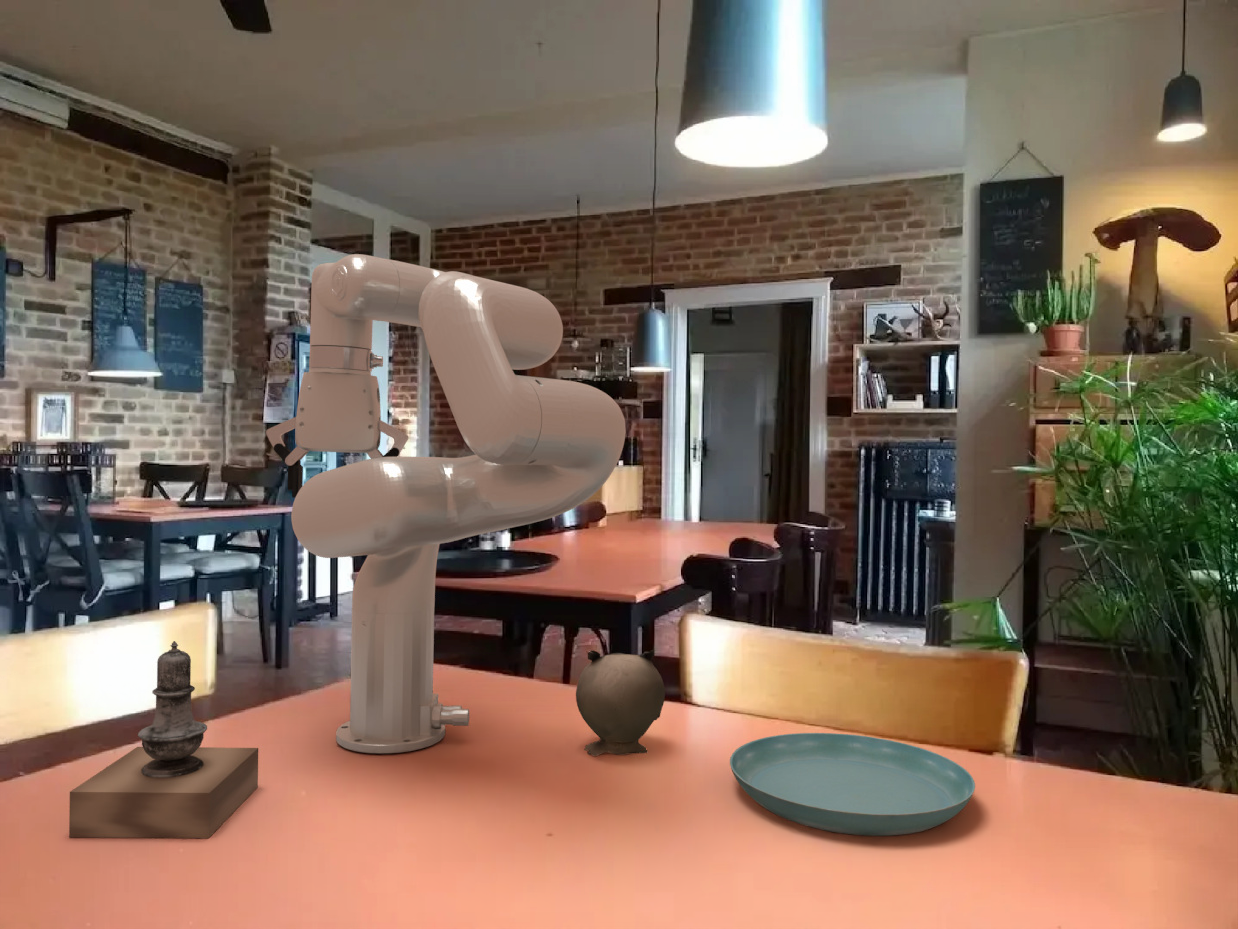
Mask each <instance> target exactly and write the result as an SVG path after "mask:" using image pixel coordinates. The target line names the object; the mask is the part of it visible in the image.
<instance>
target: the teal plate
mask: <svg viewBox="0 0 1238 929" xmlns="http://www.w3.org/2000/svg"><path fill="white" fill-rule="evenodd" d="M729 766H730V769H731V771H732V774H733V776H734V779H735V780H736V781H737V783H738V784H739V786H740V787H741V788H742V789H743V791H745V793H746V794H747V795H748V796H749V797H750V798H752V799H753V800H754V801H755V802H756V803H757V804H758V805H760V806H761V807H763V808H764V809H765V810H767V811H769V812H771V813H773V814H775V815H777V816H778V817H781V818H783V819H785V820H788V821H790V822H793V823H797V824H799V825H802V826H805V827H808V828H811V829H818V830H821V831H825V832H831V833H832V832H833V833H838V834H844V835H845V834H846V835H850V836H851V835H852V836H853V835H855V836H864V837H865V836H867V837H869V836H870V837H889V836H891V837H892V836H903V835H909V834H910V835H911V834H916V833H920V832H924V831H927V830H930V829H932V828H935V827H938V826H940V825H942V824H943V823H945V822H948V821H949V820H951V819H952V818H954V817H955V816H956V815H958V814H959V813H960V812H961V811H962V810H963V809H964V808H965V807H966V806H967V804H968V803H969V802H970V800H971V798H972V797H973V795H974V793H975V790H976V783H975V780H974V778H973V776H972V775H971V774H970V772H969V771H968V770H967V769H965V768H964V767H963V766H961V765H960V764H959V763H957V762H955V761H953V760H952V759H949V758H948V757H946V756H943V755H941V754H939V753H937V752H933V751H931V750H927V749H926V748H921V747H919V746H915V745H911V744H907V743H902V742H899V741H894V740H889V739H885V738H878V737H872V736H867V735H859V734H849V733H847V734H846V733H833V732H832V733H831V732H830V733H829V732H828V733H827V732H826V733H825V732H800V733H786V734H779V735H772V736H766V737H762V738H758V739H754V740H752V741H749V742H746V743H745V744H742V745H740V746H739V747H738V748H736V749H735V750H734V752H732V754H731V756H730V757H729Z"/></svg>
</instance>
